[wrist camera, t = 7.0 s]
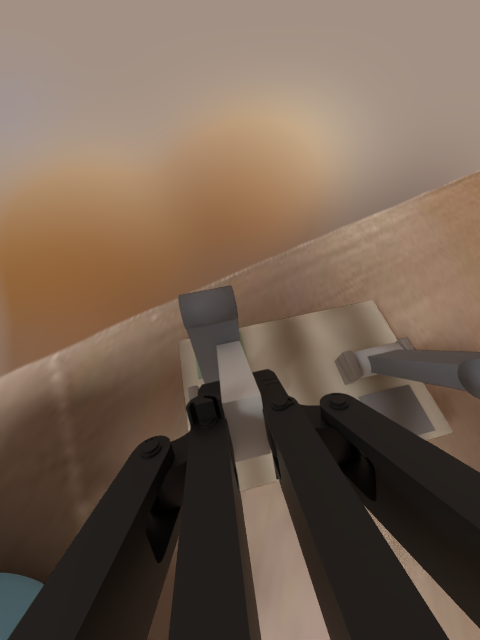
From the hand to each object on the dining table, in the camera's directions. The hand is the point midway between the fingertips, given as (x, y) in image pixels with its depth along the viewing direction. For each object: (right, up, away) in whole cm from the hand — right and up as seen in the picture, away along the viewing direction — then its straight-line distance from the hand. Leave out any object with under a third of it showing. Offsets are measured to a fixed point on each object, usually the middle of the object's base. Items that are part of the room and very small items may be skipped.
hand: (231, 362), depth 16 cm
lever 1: (0, -5, +6) cm, 8 cm away
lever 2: (+13, -1, +8) cm, 15 cm away
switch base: (+6, -5, +10) cm, 13 cm away
